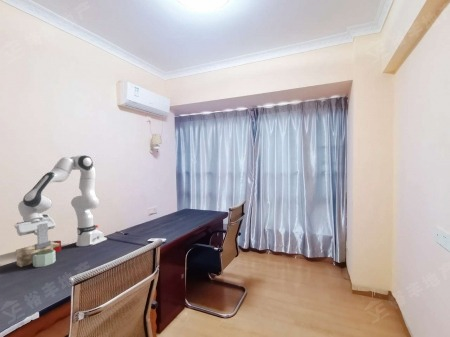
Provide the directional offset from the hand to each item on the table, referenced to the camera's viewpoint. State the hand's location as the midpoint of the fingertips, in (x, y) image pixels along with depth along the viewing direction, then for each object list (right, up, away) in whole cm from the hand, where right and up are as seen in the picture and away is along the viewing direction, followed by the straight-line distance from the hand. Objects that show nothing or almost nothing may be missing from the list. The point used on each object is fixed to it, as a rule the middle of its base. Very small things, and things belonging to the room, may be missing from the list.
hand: (41, 236), depth 149 cm
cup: (+3, -17, -1) cm, 18 cm away
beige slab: (-3, -17, +2) cm, 18 cm away
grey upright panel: (+2, -7, -1) cm, 7 cm away
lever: (-9, -18, +17) cm, 26 cm away
